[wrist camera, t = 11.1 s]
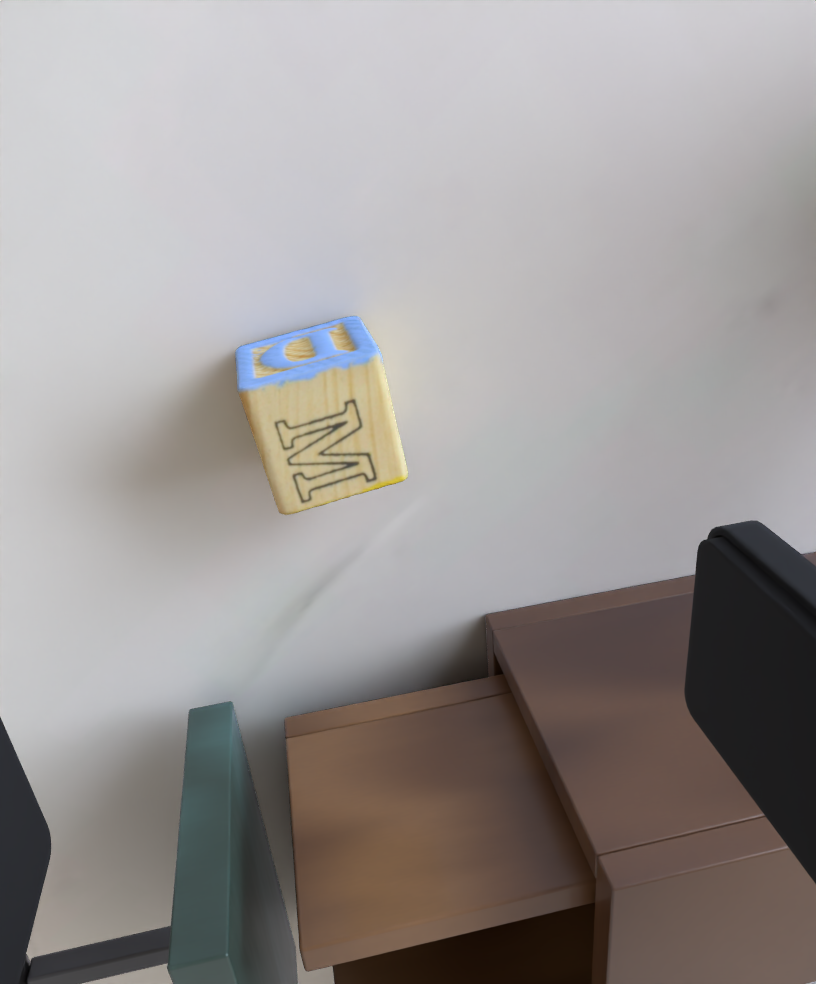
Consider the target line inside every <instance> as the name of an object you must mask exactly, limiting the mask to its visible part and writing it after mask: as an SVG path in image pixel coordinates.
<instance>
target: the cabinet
mask: <svg viewBox="0 0 816 984" xmlns="http://www.w3.org/2000/svg"><path fill="white" fill-rule="evenodd" d="M802 556H804V557H805V558H806V559H807V560H809V561H810V562H811V563H812V564H814V565H815V566H816V552H814V553H808V554H803V555H802ZM694 583H695V575H692V576H687V577H682V578H676V579H671V580H666V581H660V582H655V583H650V584H645V585H639V586H634V587H629V588H623V589H618V590H613V591H608V592H602V593H597V594H592V595H586V596H581V597H576V598H571V599H565V600H560V601H555V602H549V603H544V604H539V605H534V606H528V607H523V608H518V609H512V610H507V611H502V612H497V613H491V614H487V615H486V616H485V619H486V640H487V661H488V677H492V676H497V675H502V674H504V676H505V678H506V680H507V682H508V685H509V687H510V689H511V691H512V693H513V696H514V698H515V700H516V702H517V705H518V707H519V709H520V711H521V714H522V716H523V718H524V720H525V723H526V725H527V727H528V729H529V731H530V734H531V736H532V738H533V740H534V743H535V745H536V747H537V749H538V752H539V754H540V756H541V758H542V761H543V763H544V765H545V767H546V769H547V772H548V774H549V776H550V778H551V781H552V783H553V785H554V787H555V790H556V792H557V794H558V796H559V799H560V801H561V803H562V805H563V808H564V810H565V812H566V814H567V816H568V819H569V821H570V823H571V825H572V828H573V830H574V832H575V834H576V837H577V839H578V841H579V843H580V846H581V848H582V850H583V852H584V854H585V857H586V859H587V861H588V863H589V866H590V868H591V870H592V872H593V875H594V876H595V878H596V896H595V918H594V940H593V962H592V984H807V983H811V982H815V981H816V884H815V882H814V881H813V880H812V878H811V877H810V876H809V874H808V873H807V872H806V870H805V869H804V868H803V866H802V865H801V863H800V862H799V861H798V859H797V858H796V857H795V855H794V854H793V853H792V851H791V850H790V849H789V847H788V846H787V845H786V843H785V842H784V841H783V839H782V838H781V836H780V835H779V834H778V832H777V831H776V830H775V828H774V827H773V826H772V824H771V823H770V822H769V820H768V819H767V818H766V816H765V815H764V814H763V812H762V811H761V810H760V808H759V807H758V805H757V804H756V803H755V801H754V800H753V799H752V797H751V796H750V795H749V793H748V792H747V791H746V789H745V788H744V787H743V785H742V784H741V783H740V781H739V780H738V778H737V777H736V776H735V774H734V773H733V772H732V770H731V769H730V768H729V766H728V765H727V764H726V762H725V761H724V760H723V758H722V757H721V756H720V754H719V753H718V752H717V750H716V749H715V747H714V746H713V745H712V743H711V742H710V741H709V739H708V738H707V737H706V735H705V734H704V733H703V731H702V730H701V729H700V727H699V726H698V725H697V723H696V722H695V721H694V719H693V718H692V716H691V714H690V712H689V710H688V708H687V704H686V701H685V695H684V688H685V677H686V667H687V656H688V646H689V636H690V625H691V615H692V604H693V594H694Z"/></svg>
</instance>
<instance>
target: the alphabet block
mask: <svg viewBox="0 0 816 984" xmlns="http://www.w3.org/2000/svg"><path fill="white" fill-rule="evenodd" d="M235 355H236V371H237V388H238V393H239V396H240V399H241V401H242V404H243V407H244V410H245V413H246V416H247V419H248V422H249V425H250V428H251V431H252V434H253V437H254V440H255V442H256V445H257V448H258V451H259V454H260V457H261V460H262V463H263V466H264V469H265V472H266V475H267V478H268V481H269V484H270V487H271V490H272V493H273V496H274V499H275V502H276V505H277V508H278V511H279V512H280V513H281V514H284V515H289V514H293V513H297V512H300V511H303V510H306V509H310V508H313V507H317V506H321V505H325V504H327V503H330V502H334V501H337V500H339V499H343V498H348V497H350V496H353V495H356V494H362V493H364V492H368V491H371V490H374V489H379V488H381V487H384V486H387V485H392V484H396V483H398V482H402V481H404V480H405V479H407V477H408V470H407V466H406V461H405V456H404V452H403V448H402V444H401V441H400V437H399V432H398V428H397V423H396V418H395V414H394V410H393V405H392V401H391V397H390V392H389V387H388V383H387V379H386V374H385V370H384V365H383V358H382V354H381V352H380V350H379V348H378V346H377V344H376V343H375V341H374V339H373V338H372V336H371V334H370V333H369V331H368V330H367V328H366V327H365V325H364V323H363V322H362V320H361V319H360V318H359V317H358V316H350V317H345V318H341V319H338V320H334V321H331V322H327V323H324V324H320V325H316V326H313V327H310V328H307V329H302V330H298V331H294V332H290V333H287V334H283V335H280V336H277V337H273V338H269V339H265V340H261V341H257V342H254V343H250V344H246V345H243V346H240V347H239V348H238V349H237V350H236V352H235Z"/></svg>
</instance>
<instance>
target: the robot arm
mask: <svg viewBox="0 0 816 984" xmlns="http://www.w3.org/2000/svg"><path fill="white" fill-rule="evenodd" d="M684 695H685V701H686V704H687V708H688V710H689V712H690V714H691V716H692V718H693V719H694V721H695V722H696V723H697V725H698V726H699V727H700V729H701V730H702V731H703V733H704V734H705V735H706V737H707V738H708V739H709V741H710V742H711V743H712V745H713V746H714V747H715V749H716V750H717V752H718V753H719V754H720V756H721V757H722V758H723V760H724V761H725V762H726V764H727V765H728V766H729V768H730V769H731V770H732V772H733V773H734V774H735V776H736V777H737V778H738V780H739V781H740V783H741V784H742V785H743V787H744V788H745V789H746V791H747V792H748V793H749V795H750V796H751V797H752V799H753V800H754V801H755V803H756V804H757V805H758V807H759V808H760V810H761V811H762V812H763V814H764V815H765V816H766V818H767V819H768V820H769V822H770V823H771V824H772V826H773V827H774V828H775V830H776V831H777V832H778V834H779V835H780V836H781V838H782V839H783V841H784V842H785V843H786V845H787V846H788V847H789V849H790V850H791V851H792V853H793V854H794V855H795V857H796V858H797V859H798V861H799V862H800V863H801V865H802V866H803V868H804V869H805V870H806V872H807V873H808V874H809V876H810V877H811V878H812V880H813V881H814V882H815V884H816V566H815V565H814V564H812V563H811V562H810V561H809V560H807V559H806V558H805V557H804V556H802V555H801V554H800V553H799V552H797V551H796V550H795V549H794V548H792V547H791V546H790V545H789V544H787V543H786V542H785V541H784V540H782V539H781V538H780V537H779V536H777V535H776V534H775V533H774V532H772V531H771V530H770V529H769V528H767V527H766V526H765V525H763V524H762V523H760V522H758V521H746V522H741V523H736V524H730V525H725V526H720V527H715V528H714V529H712V530H711V532H710V533H709V535H708V539H707V540H703V541H702V542H701V543H700V545H699V547H698V552H697V562H696V573H695V583H694V594H693V604H692V615H691V625H690V636H689V646H688V656H687V667H686V677H685V688H684ZM50 855H51V837H50V831H49V828H48V825H47V823H46V820H45V818H44V816H43V814H42V811H41V809H40V807H39V804H38V802H37V800H36V798H35V795H34V793H33V791H32V788H31V786H30V784H29V782H28V779H27V777H26V775H25V772H24V770H23V768H22V766H21V763H20V761H19V759H18V756H17V754H16V752H15V750H14V747H13V745H12V743H11V740H10V738H9V736H8V734H7V731H6V729H5V727H4V725H3V722H2V720H1V718H0V984H19V980H20V976H21V972H22V968H23V964H24V960H25V956H26V952H27V948H28V944H29V940H30V936H31V932H32V928H33V924H34V920H35V916H36V912H37V908H38V904H39V900H40V896H41V892H42V888H43V884H44V880H45V876H46V872H47V868H48V864H49V860H50ZM807 984H816V981H815V982H811V983H807Z"/></svg>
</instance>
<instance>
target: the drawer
mask: <svg viewBox="0 0 816 984" xmlns="http://www.w3.org/2000/svg"><path fill="white" fill-rule="evenodd" d="M284 725H285V738H286V755H287V770H288V784H289V799H290V814H291V829H292V844H293V859H294V873H295V888H296V903H297V918H298V933H299V948H300V953H301V957H302V961H303V965H304V968H305V970H306V971H312V970H316V969H321V968H325V967H329V966H333V973H334V983H335V984H592V962H593V940H594V918H595V896H596V878H595V876H594V875H593V872H592V870H591V868H590V866H589V863H588V861H587V859H586V857H585V854H584V852H583V850H582V848H581V846H580V843H579V841H578V839H577V837H576V834H575V832H574V830H573V828H572V825H571V823H570V821H569V819H568V816H567V814H566V812H565V810H564V808H563V805H562V803H561V801H560V799H559V796H558V794H557V792H556V790H555V787H554V785H553V783H552V781H551V778H550V776H549V774H548V772H547V769H546V767H545V765H544V763H543V761H542V758H541V756H540V754H539V752H538V749H537V747H536V745H535V743H534V740H533V738H532V736H531V734H530V731H529V729H528V727H527V725H526V723H525V720H524V718H523V716H522V714H521V711H520V709H519V707H518V705H517V702H516V700H515V698H514V696H513V693H512V691H511V689H510V687H509V685H508V682H507V680H506V678H505V676H504V674H502V675H497V676H492V677H487V678H482V679H476V680H471V681H466V682H461V683H456V684H451V685H446V686H441V687H436V688H431V689H426V690H421V691H416V692H411V693H406V694H401V695H396V696H391V697H386V698H381V699H376V700H371V701H366V702H361V703H356V704H351V705H346V706H341V707H336V708H331V709H326V710H321V711H316V712H311V713H306V714H301V715H296V716H291V717H286V718H285V720H284ZM166 963H168V966H167V969H168V972H169V974H170V977H171V980H172V982H173V984H298V980H297V964H296V948H295V943H294V939H293V935H292V931H291V928H290V924H289V920H288V916H287V912H286V908H285V904H284V900H283V897H282V893H281V889H280V885H279V881H278V877H277V873H276V869H275V866H274V862H273V858H272V854H271V850H270V846H269V842H268V838H267V834H266V831H265V827H264V823H263V819H262V815H261V811H260V807H259V803H258V800H257V796H256V792H255V788H254V784H253V780H252V776H251V772H250V769H249V765H248V761H247V757H246V753H245V749H244V745H243V741H242V737H241V734H240V730H239V726H238V722H237V718H236V714H235V710H234V706H233V703H232V702H224V703H219V704H214V705H209V706H204V707H199V708H194V709H190V710H189V717H188V729H187V741H186V753H185V764H184V776H183V788H182V800H181V812H180V824H179V836H178V847H177V859H176V871H175V883H174V895H173V907H172V919H171V926H168V927H164V928H160V929H155V930H151V931H146V932H142V933H138V934H133V935H129V936H125V937H120V938H116V939H111V940H107V941H103V942H98V943H94V944H90V945H85V946H81V947H77V948H72V949H68V950H63V951H59V952H55V953H50V954H46V955H42V956H37V957H34V958H32V959H31V962H30V960H29V958H28V956H27V954H26V956H25V960H24V964H23V968H22V972H21V976H20V980H19V984H81V983H85V982H90V981H94V980H98V979H102V978H107V977H111V976H115V975H120V974H124V973H128V972H132V971H137V970H141V969H145V968H149V967H154V966H158V965H162V964H166Z"/></svg>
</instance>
